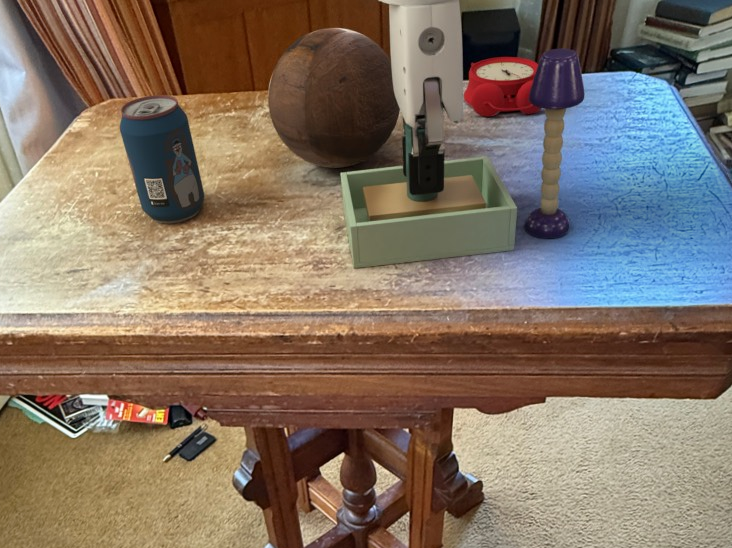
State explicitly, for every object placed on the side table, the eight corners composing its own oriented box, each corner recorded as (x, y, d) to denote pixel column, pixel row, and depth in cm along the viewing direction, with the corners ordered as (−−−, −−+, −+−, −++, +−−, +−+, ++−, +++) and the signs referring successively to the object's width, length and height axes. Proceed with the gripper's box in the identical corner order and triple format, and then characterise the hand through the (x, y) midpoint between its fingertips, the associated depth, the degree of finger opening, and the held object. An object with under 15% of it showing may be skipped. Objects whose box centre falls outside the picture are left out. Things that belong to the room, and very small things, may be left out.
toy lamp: (519, 239, 69) (534, 63, 59) (517, 215, 73) (530, 45, 62) (571, 238, 68) (596, 60, 58) (566, 214, 72) (588, 42, 62)
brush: (371, 243, 69) (364, 145, 63) (364, 213, 74) (358, 119, 68) (484, 230, 69) (489, 131, 63) (471, 201, 74) (474, 106, 68)
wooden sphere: (421, 143, 88) (420, 14, 79) (370, 199, 78) (361, 58, 69) (315, 130, 94) (302, 8, 85) (254, 180, 84) (231, 48, 75)
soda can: (157, 196, 83) (130, 93, 76) (214, 196, 82) (192, 91, 74) (134, 226, 78) (103, 119, 70) (195, 227, 76) (169, 118, 69)
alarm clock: (536, 53, 99) (560, 63, 86) (534, 100, 102) (557, 117, 88) (460, 59, 100) (472, 69, 87) (460, 105, 103) (472, 122, 89)
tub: (485, 195, 76) (487, 155, 74) (514, 250, 68) (517, 207, 65) (343, 211, 76) (340, 172, 73) (353, 268, 67) (350, 226, 65)
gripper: (493, -7, 51) (481, 220, 62) (447, -51, 64) (445, 144, 75) (388, 4, 51) (396, 230, 62) (363, -42, 64) (374, 152, 75)
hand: (422, 181), depth 69 cm, fingers closed on brush, 3 cm apart
